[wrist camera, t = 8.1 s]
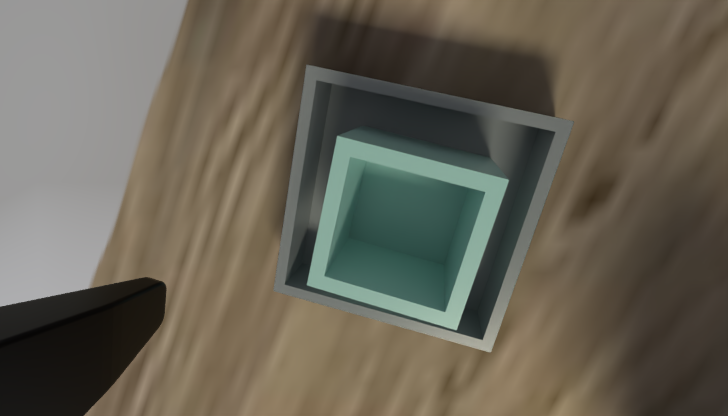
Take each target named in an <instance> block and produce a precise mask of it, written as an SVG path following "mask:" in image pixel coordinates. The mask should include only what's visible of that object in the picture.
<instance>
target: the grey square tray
mask: <svg viewBox="0 0 728 416" xmlns="http://www.w3.org/2000/svg"><path fill="white" fill-rule="evenodd" d="M573 124H574V121H570V120H566V119H561V118H557V117H552V116H547V115H542V114H538V113H533V112H528V111H524V110H519V109H514V108H509V107H505V106H500V105H495V104H491V103H486V102H481V101H476V100H472V99H467V98H462V97H458V96H453V95H448V94H443V93H439V92H434V91H429V90H425V89H420V88H415V87H410V86H406V85H401V84H396V83H392V82H387V81H382V80H377V79H373V78H368V77H363V76H359V75H354V74H349V73H345V72H340V71H335V70H330V69H326V68H321V67H316V66H311V65H306V72H305V78H304V85H303V92H302V99H301V106H300V113H299V120H298V126H297V133H296V140H295V147H294V154H293V161H292V167H291V174H290V181H289V188H288V195H287V202H286V208H285V215H284V222H283V229H282V236H281V243H280V250H279V256H278V263H277V270H276V277H275V284H274V291H275V292H279V293H282V294H286V295H289V296H293V297H297V298H300V299H304V300H307V301H311V302H314V303H318V304H321V305H325V306H328V307H332V308H335V309H339V310H342V311H346V312H349V313H353V314H356V315H360V316H364V317H367V318H371V319H374V320H378V321H381V322H385V323H388V324H392V325H395V326H399V327H402V328H406V329H409V330H413V331H416V332H420V333H424V334H427V335H431V336H434V337H438V338H441V339H445V340H448V341H452V342H455V343H459V344H462V345H466V346H469V347H473V348H476V349H480V350H483V351H487V352H491V350H492V347H493V345H494V342H495V339H496V336H497V334H498V331H499V328H500V325H501V323H502V320H503V317H504V314H505V312H506V309H507V306H508V303H509V300H510V298H511V295H512V292H513V289H514V287H515V284H516V281H517V278H518V276H519V273H520V270H521V267H522V265H523V262H524V259H525V256H526V253H527V251H528V248H529V245H530V242H531V240H532V237H533V234H534V231H535V229H536V226H537V223H538V220H539V218H540V215H541V212H542V209H543V207H544V204H545V201H546V198H547V195H548V193H549V190H550V187H551V184H552V182H553V179H554V176H555V173H556V171H557V168H558V165H559V162H560V160H561V157H562V154H563V151H564V148H565V146H566V143H567V140H568V137H569V135H570V132H571V129H572V126H573ZM361 126H367V127H371V128H375V129H379V130H383V131H387V132H391V133H395V134H399V135H403V136H407V137H411V138H415V139H419V140H423V141H427V142H431V143H435V144H439V145H443V146H446V147H450V148H454V149H458V150H462V151H466V152H470V153H474V154H478V155H482V156H486V157H490V158H491V159H492V160H493V161H494V162H495V163H496V165H497V166H498V167H499V168H500V169H501V171H502V172H503V173H504V174H505V175H506V177H507V178H508V179H509V182H508V185H507V188H506V190H505V193H504V196H503V199H502V202H501V205H500V208H499V210H498V213H497V216H496V219H495V222H494V225H493V228H492V230H491V233H490V236H489V239H488V242H487V245H486V248H485V250H484V253H483V256H482V259H481V262H480V265H479V268H478V270H477V273H476V276H475V279H474V282H473V285H472V288H471V290H470V293H469V296H468V299H467V302H466V305H465V308H464V310H463V313H462V316H461V319H460V322H459V325H458V328H457V330H454V329H450V328H447V327H444V326H440V325H437V324H434V323H430V322H427V321H424V320H420V319H417V318H414V317H410V316H407V315H404V314H400V313H397V312H394V311H390V310H387V309H384V308H380V307H377V306H374V305H371V304H367V303H364V302H361V301H357V300H354V299H351V298H347V297H344V296H341V295H337V294H334V293H331V292H327V291H324V290H321V289H317V288H314V287H311V286H307V282H308V277H309V272H310V267H311V262H312V257H313V252H314V247H315V242H316V238H317V233H318V228H319V223H320V218H321V213H322V208H323V203H324V198H325V193H326V189H327V184H328V179H329V174H330V169H331V164H332V159H333V154H334V149H335V144H336V139H337V136H338V135H341V134H343V133H346V132H348V131H351V130H353V129H356V128H358V127H361Z"/></svg>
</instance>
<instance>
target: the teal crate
mask: <svg viewBox="0 0 728 416" xmlns="http://www.w3.org/2000/svg"><path fill="white" fill-rule="evenodd" d="M508 182H509V179H508V178H507V177H506V175H505V174H504V173H503V172H502V171H501V169H500V168H499V167H498V166H497V165H496V163H495V162H494V161H493V160H492V159H491V158H490V157H486V156H482V155H478V154H474V153H470V152H466V151H462V150H458V149H454V148H450V147H446V146H443V145H439V144H435V143H431V142H427V141H423V140H419V139H415V138H411V137H407V136H403V135H399V134H395V133H391V132H387V131H383V130H379V129H375V128H371V127H367V126H361V127H358V128H356V129H353V130H351V131H348V132H346V133H343V134H341V135H338V136H337V139H336V144H335V149H334V154H333V159H332V164H331V169H330V174H329V179H328V184H327V189H326V193H325V198H324V203H323V208H322V213H321V218H320V223H319V228H318V233H317V238H316V242H315V247H314V252H313V257H312V262H311V267H310V272H309V277H308V282H307V286H311V287H314V288H317V289H321V290H324V291H327V292H331V293H334V294H337V295H341V296H344V297H347V298H351V299H354V300H357V301H361V302H364V303H367V304H371V305H374V306H377V307H380V308H384V309H387V310H390V311H394V312H397V313H400V314H404V315H407V316H410V317H414V318H417V319H420V320H424V321H427V322H430V323H434V324H437V325H440V326H444V327H447V328H450V329H454V330H457V328H458V325H459V322H460V319H461V316H462V313H463V310H464V308H465V305H466V302H467V299H468V296H469V293H470V290H471V288H472V285H473V282H474V279H475V276H476V273H477V270H478V268H479V265H480V262H481V259H482V256H483V253H484V250H485V248H486V245H487V242H488V239H489V236H490V233H491V230H492V228H493V225H494V222H495V219H496V216H497V213H498V210H499V208H500V205H501V202H502V199H503V196H504V193H505V190H506V188H507V185H508Z"/></svg>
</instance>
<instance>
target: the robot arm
mask: <svg viewBox="0 0 728 416" xmlns="http://www.w3.org/2000/svg"><path fill="white" fill-rule="evenodd" d="M165 302H166V285H165V283H164V282H162V281H159V280H155V279H152V278H149V277H144V278H139V279H134V280H129V281H124V282H119V283H114V284H109V285H105V286H100V287H95V288H90V289H85V290H80V291H75V292H70V293H65V294H61V295H56V296H50V297H46V298H41V299H36V300H31V301H27V302H21V303H16V304H12V305H6V306H2V307H0V416H84V415H85V414H86V413H87V412H88V411H89V410H90V408H91V407H92V406H93V405H94V404H95V403H96V402H97V401H98V400H99V399H100V398H101V397H102V396H103V395H104V394H105V393H106V392H107V391H108V390H109V388H110V387H111V386H112V385H113V384H114V383H115V382H116V380H117V379H118V378H119V377H120V376H121V374H122V373H123V372H124V371H125V369H126V368H127V367H128V366H129V364H130V363H131V362H132V361H133V359H134V358H135V357H136V356H137V354H138V353H139V352H140V351H141V349H142V348H143V347H144V346H145V344H146V343H147V342H148V341H149V339H150V338H151V337H152V336H153V334H154V333H155V332H156V331H157V329H158V328H159V327H160V325H161V323H162V321H163V319H164V314H165Z"/></svg>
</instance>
